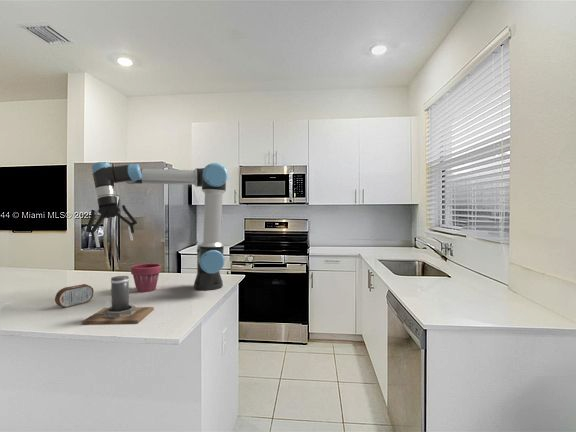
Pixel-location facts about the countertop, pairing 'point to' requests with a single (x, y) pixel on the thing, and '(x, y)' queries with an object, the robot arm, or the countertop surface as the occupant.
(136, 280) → the plant pot
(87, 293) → the tin
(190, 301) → the countertop surface
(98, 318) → the mount board
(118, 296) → the dome-topped grey cylinder
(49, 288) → the countertop surface
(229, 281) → the countertop surface
